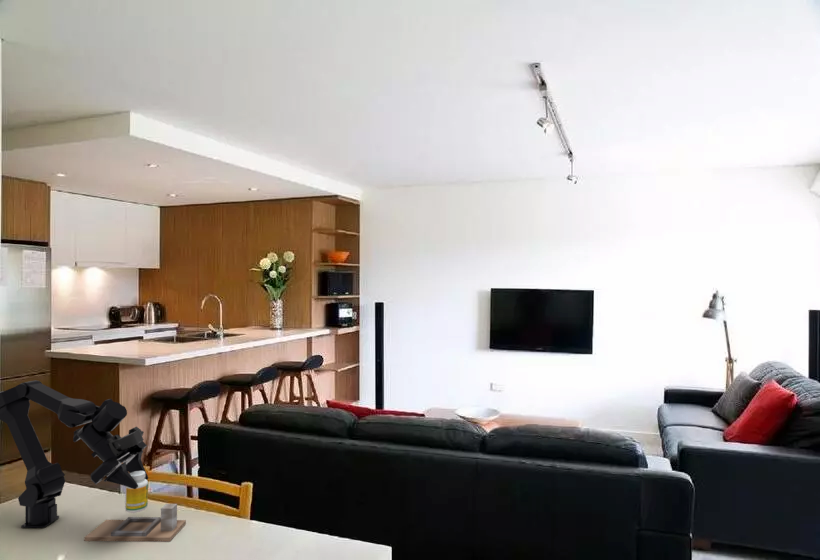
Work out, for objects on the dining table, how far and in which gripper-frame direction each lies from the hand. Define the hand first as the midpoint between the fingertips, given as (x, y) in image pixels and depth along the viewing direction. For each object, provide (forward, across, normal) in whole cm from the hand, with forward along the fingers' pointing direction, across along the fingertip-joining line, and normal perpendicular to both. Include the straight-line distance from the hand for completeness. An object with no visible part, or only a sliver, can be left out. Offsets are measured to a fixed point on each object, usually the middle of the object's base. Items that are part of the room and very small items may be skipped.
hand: (142, 483), depth 143 cm
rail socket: (+8, 0, +10) cm, 13 cm away
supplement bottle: (+4, 0, +6) cm, 7 cm away
